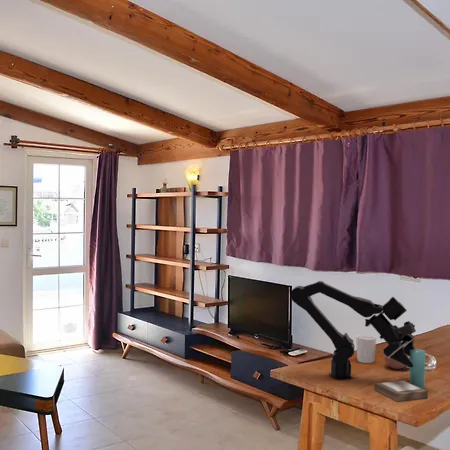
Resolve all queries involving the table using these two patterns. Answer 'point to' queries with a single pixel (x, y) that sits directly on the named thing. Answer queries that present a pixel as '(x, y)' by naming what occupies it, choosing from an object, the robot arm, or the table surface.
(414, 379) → the teal cylinder
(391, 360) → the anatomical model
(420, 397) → the picture frame
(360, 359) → the white cup
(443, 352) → the table surface
